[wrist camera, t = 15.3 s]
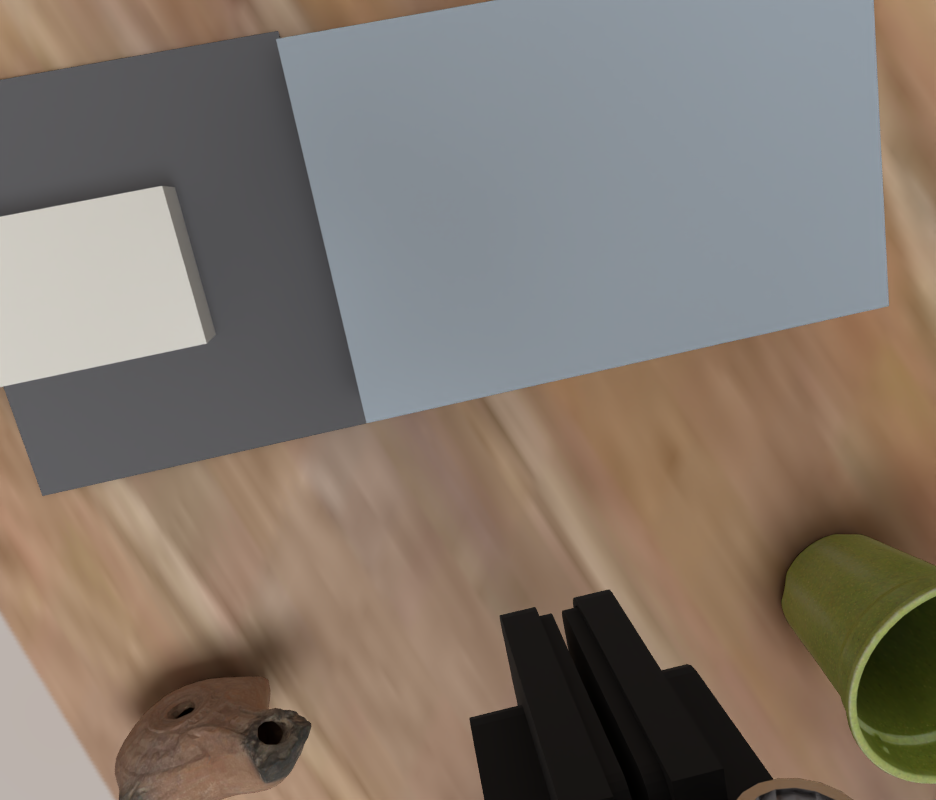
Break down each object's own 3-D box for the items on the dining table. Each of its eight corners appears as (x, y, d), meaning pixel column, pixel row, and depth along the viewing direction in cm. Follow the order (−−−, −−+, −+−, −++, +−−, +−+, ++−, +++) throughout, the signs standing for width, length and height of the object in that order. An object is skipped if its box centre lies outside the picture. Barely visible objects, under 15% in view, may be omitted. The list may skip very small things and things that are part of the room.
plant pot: (816, 701, 42) (932, 824, 34) (711, 592, 39) (808, 695, 31) (950, 582, 41) (1101, 677, 33) (851, 463, 39) (989, 533, 30)
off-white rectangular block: (-64, 228, 28) (-35, 227, 30) (-6, 388, 30) (18, 376, 32) (161, 185, 29) (174, 187, 31) (206, 343, 31) (215, 334, 33)
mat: (278, 32, 31) (278, 31, 30) (369, 420, 35) (369, 422, 34) (-96, 98, 29) (-101, 97, 29) (45, 493, 33) (42, 495, 33)
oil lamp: (300, 609, 36) (286, 716, 29) (338, 676, 38) (335, 797, 30) (121, 692, 36) (59, 823, 28) (165, 758, 37) (117, 901, 30)
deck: (809, -35, 33) (870, -67, 29) (832, 295, 37) (888, 306, 33) (285, 59, 31) (276, 39, 27) (364, 399, 35) (366, 423, 31)
